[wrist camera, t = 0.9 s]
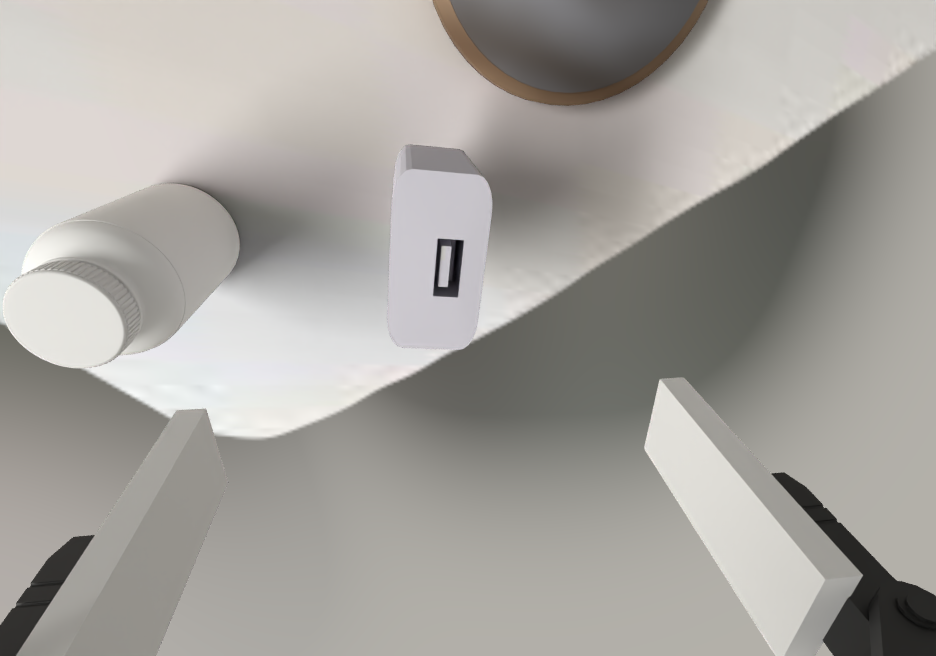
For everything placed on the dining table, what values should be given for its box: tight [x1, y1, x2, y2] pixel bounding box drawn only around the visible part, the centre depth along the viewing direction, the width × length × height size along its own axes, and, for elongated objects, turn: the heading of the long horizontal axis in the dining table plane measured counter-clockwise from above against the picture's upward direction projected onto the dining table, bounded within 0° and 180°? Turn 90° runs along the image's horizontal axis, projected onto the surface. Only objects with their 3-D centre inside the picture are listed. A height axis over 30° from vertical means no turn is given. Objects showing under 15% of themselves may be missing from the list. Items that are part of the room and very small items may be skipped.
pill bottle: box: [3, 183, 240, 368], centre depth 30 cm, size 8×8×15 cm
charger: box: [387, 144, 492, 350], centre depth 31 cm, size 5×9×15 cm, turn 174°
